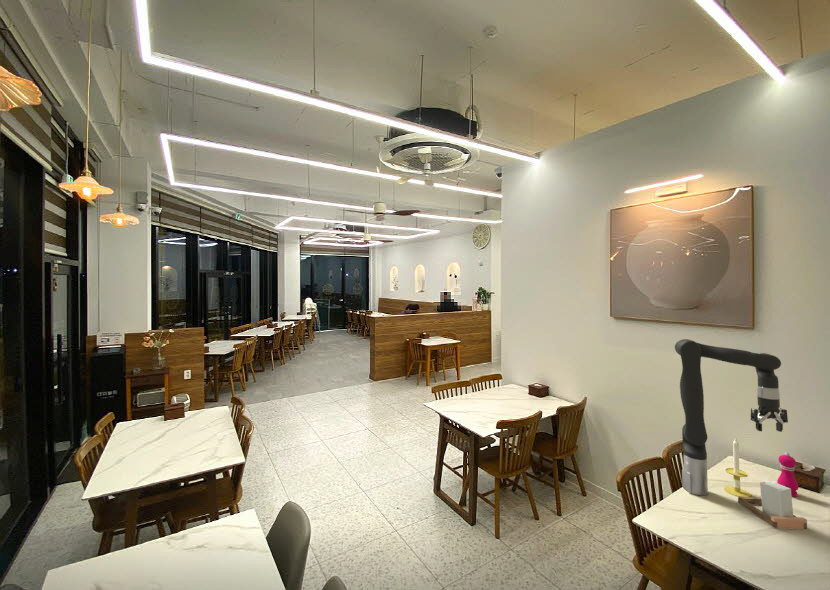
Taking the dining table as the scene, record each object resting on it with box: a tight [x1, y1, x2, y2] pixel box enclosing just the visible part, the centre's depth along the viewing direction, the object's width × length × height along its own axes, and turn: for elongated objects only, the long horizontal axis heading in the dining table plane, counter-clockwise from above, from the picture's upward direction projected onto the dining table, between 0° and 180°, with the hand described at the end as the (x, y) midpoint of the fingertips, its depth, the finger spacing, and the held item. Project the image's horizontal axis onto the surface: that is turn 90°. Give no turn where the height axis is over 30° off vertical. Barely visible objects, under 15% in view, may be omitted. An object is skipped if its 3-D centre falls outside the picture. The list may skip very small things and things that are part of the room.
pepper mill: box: [776, 452, 799, 498], centre depth 176 cm, size 7×7×20 cm
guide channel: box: [737, 496, 808, 530], centre depth 160 cm, size 12×19×2 cm, turn 175°
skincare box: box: [759, 480, 794, 517], centre depth 156 cm, size 8×6×15 cm
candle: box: [723, 437, 752, 498], centre depth 179 cm, size 10×10×27 cm
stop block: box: [771, 516, 808, 530], centre depth 151 cm, size 12×2×4 cm, turn 85°
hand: (769, 431), depth 170 cm, fingers open, 8 cm apart
